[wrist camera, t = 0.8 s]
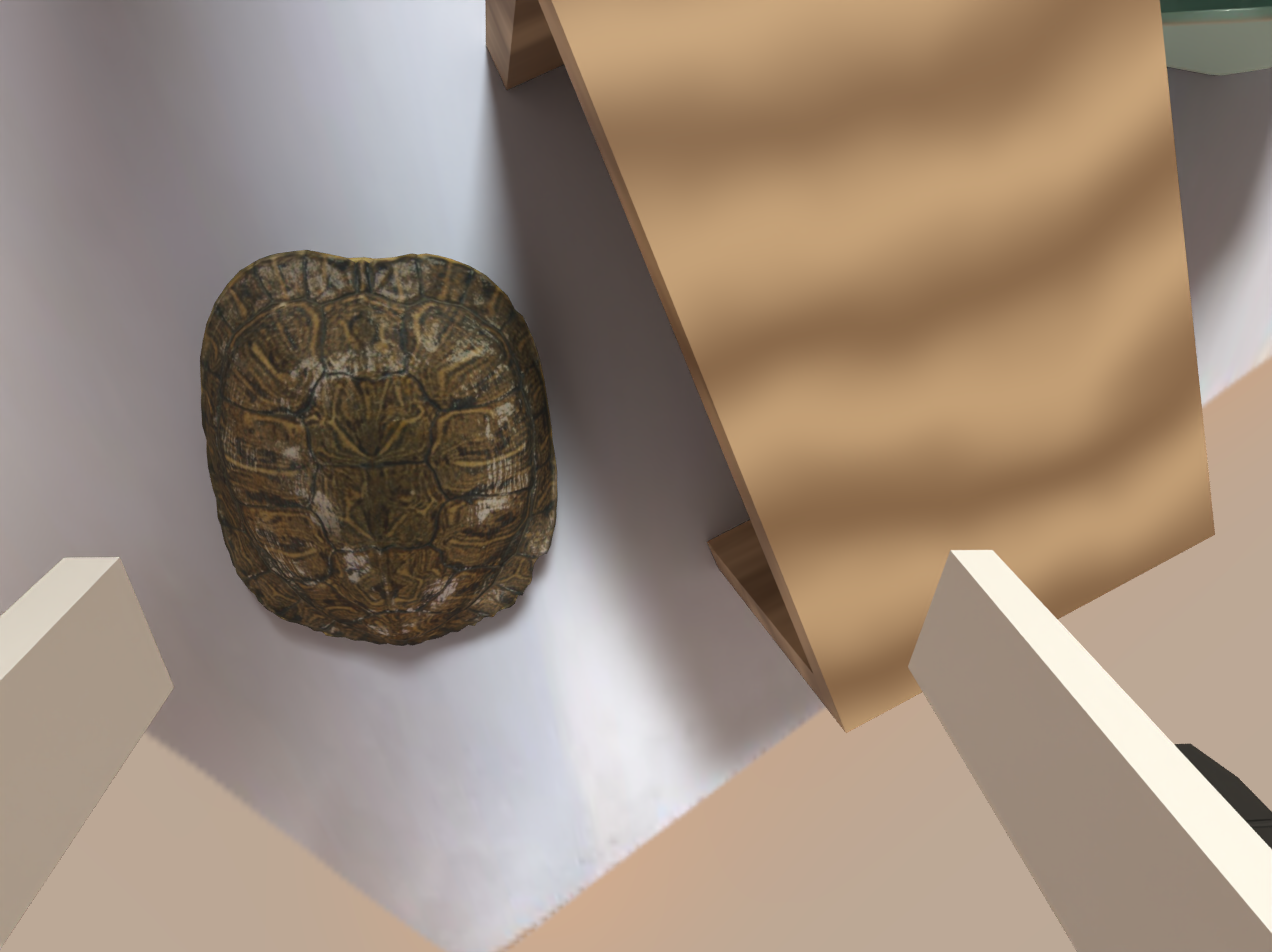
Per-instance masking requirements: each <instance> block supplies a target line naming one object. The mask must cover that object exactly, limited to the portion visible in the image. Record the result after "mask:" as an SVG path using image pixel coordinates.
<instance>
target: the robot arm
mask: <svg viewBox="0 0 1272 952" xmlns="http://www.w3.org/2000/svg"><path fill="white" fill-rule="evenodd" d="M908 668H909V670H910V671H911V673H912V675H913V676H914V678H915V680H916V682H917V683H918V685H919V687H920V688H921V690H922V692H923V693H924V695H925V697H926V698H927V700H928V702H929V703H930V705H931V706H932V708H933V710H934V712H935V714H936V715H937V717H938V719H939V720H940V722H941V724H942V725H943V727H944V729H945V730H946V732H947V733H948V735H949V737H950V739H951V740H952V742H953V744H954V745H955V747H956V749H957V751H958V752H959V754H960V755H961V757H962V759H963V760H964V762H965V764H966V766H967V767H968V769H969V771H970V772H971V774H972V775H973V777H974V779H975V781H976V783H977V784H978V786H979V788H980V789H981V791H982V793H983V794H984V796H985V798H986V799H987V801H988V803H989V804H990V806H991V807H992V809H993V811H994V813H995V815H996V816H997V818H998V819H999V821H1000V823H1001V825H1002V826H1003V828H1004V830H1005V831H1006V833H1007V835H1008V836H1009V838H1010V840H1011V841H1012V843H1013V845H1014V847H1015V848H1016V850H1017V852H1018V853H1019V855H1020V856H1021V858H1022V860H1023V861H1024V863H1025V865H1026V867H1027V868H1028V870H1029V872H1030V873H1031V875H1032V877H1033V879H1034V880H1035V882H1036V884H1037V885H1038V887H1039V889H1040V890H1041V892H1042V894H1043V895H1044V897H1045V899H1046V900H1047V902H1048V904H1049V905H1050V907H1051V909H1052V911H1053V912H1054V914H1055V916H1056V917H1057V919H1058V920H1059V922H1060V924H1061V925H1062V927H1063V929H1064V931H1065V932H1066V934H1067V936H1068V937H1069V939H1070V941H1071V942H1072V944H1073V946H1074V947H1075V949H1076V951H1077V952H1272V812H1271V811H1270V810H1269V809H1268V808H1267V807H1266V806H1265V805H1264V804H1263V803H1262V802H1261V801H1260V800H1259V799H1258V797H1257V796H1255V794H1254V793H1253V792H1252V791H1251V790H1250V789H1249V788H1248V787H1247V786H1246V785H1245V784H1244V783H1243V782H1242V781H1241V780H1240V779H1239V778H1238V777H1236V776H1235V775H1234V774H1232V773H1231V772H1229V771H1228V770H1227V769H1225V768H1224V767H1222V766H1221V765H1220V764H1218V763H1217V762H1215V761H1214V760H1213V759H1211V758H1210V757H1208V756H1207V755H1206V754H1204V753H1203V752H1201V751H1200V750H1198V749H1197V748H1196V747H1194V746H1193V745H1191V744H1173V743H1172V742H1171V741H1170V740H1169V739H1168V738H1167V737H1166V735H1165V734H1163V732H1162V731H1161V730H1160V729H1159V728H1158V727H1157V726H1156V725H1155V724H1154V723H1153V721H1152V720H1150V718H1149V717H1148V716H1147V715H1146V714H1145V713H1144V712H1143V711H1142V710H1141V709H1140V708H1139V707H1138V705H1137V704H1136V703H1135V702H1134V701H1133V700H1132V699H1131V698H1130V697H1129V696H1128V695H1127V694H1126V693H1125V692H1124V691H1123V689H1122V688H1121V687H1120V686H1119V685H1118V684H1117V683H1116V682H1115V681H1114V680H1113V679H1112V678H1111V676H1110V675H1109V674H1108V673H1107V672H1106V671H1105V670H1104V669H1103V668H1102V667H1101V666H1100V665H1099V664H1098V663H1097V661H1096V660H1095V659H1094V658H1093V657H1092V656H1091V655H1090V654H1089V653H1088V652H1087V651H1086V650H1085V649H1084V648H1083V647H1082V645H1081V644H1080V643H1079V642H1078V641H1077V640H1076V639H1075V638H1074V637H1073V636H1072V635H1071V634H1070V632H1069V631H1068V630H1067V629H1066V628H1065V627H1064V626H1063V625H1062V624H1061V623H1060V622H1059V621H1058V620H1057V619H1056V617H1055V616H1054V615H1053V614H1052V613H1051V612H1050V611H1049V610H1048V609H1047V608H1046V607H1045V606H1044V605H1043V604H1042V602H1041V601H1040V600H1039V599H1038V598H1037V597H1036V596H1035V595H1034V594H1033V593H1032V592H1031V591H1030V590H1029V588H1028V587H1027V586H1026V585H1025V584H1024V583H1023V582H1022V581H1021V580H1020V579H1019V578H1018V577H1017V576H1016V575H1015V573H1014V572H1013V571H1012V570H1011V569H1010V568H1009V567H1008V566H1007V565H1006V564H1005V563H1004V562H1003V561H1002V560H1001V558H1000V557H999V556H998V555H997V554H996V553H995V552H994V551H993V550H950V553H949V555H948V558H947V561H946V564H945V566H944V569H943V572H942V574H941V577H940V580H939V583H938V585H937V588H936V591H935V594H934V596H933V599H932V602H931V605H930V607H929V610H928V613H927V616H926V618H925V621H924V624H923V627H922V629H921V632H920V635H919V638H918V640H917V643H916V646H915V648H914V651H913V654H912V657H911V659H910V662H909V665H908ZM173 689H174V686H173V683H172V681H171V679H170V676H169V674H168V671H167V669H166V667H165V664H164V662H163V659H162V657H161V655H160V652H159V650H158V647H157V645H156V643H155V640H154V638H153V635H152V633H151V631H150V628H149V626H148V623H147V621H146V619H145V616H144V614H143V612H142V609H141V607H140V604H139V602H138V600H137V597H136V595H135V592H134V590H133V588H132V585H131V583H130V580H129V578H128V576H127V573H126V571H125V568H124V566H123V564H122V561H121V559H120V557H78V558H63V559H62V560H61V561H60V562H59V563H58V564H57V565H55V566H54V567H53V568H52V569H51V570H50V571H49V572H48V573H47V574H46V575H45V576H43V577H42V578H41V579H40V580H39V581H38V582H37V583H36V584H35V585H34V586H33V587H32V588H30V589H29V590H28V591H27V592H26V593H25V594H24V595H23V596H22V597H21V598H20V599H18V600H17V601H16V602H15V603H14V604H13V605H12V606H11V607H10V608H9V609H8V610H7V611H5V612H4V613H3V614H2V615H1V616H0V949H1V948H2V946H3V945H4V943H5V942H6V940H7V939H8V937H9V936H10V934H11V933H12V931H13V930H14V928H15V926H16V925H17V924H18V922H19V921H20V919H21V918H22V916H23V915H24V913H25V912H26V910H27V909H28V907H29V906H30V904H31V903H32V901H33V900H34V898H35V896H36V895H37V893H38V892H39V890H40V889H41V887H42V886H43V884H44V883H45V881H46V880H47V878H48V877H49V875H50V874H51V872H52V871H53V869H54V868H55V866H56V865H57V863H58V862H59V860H60V859H61V857H62V856H63V854H64V853H65V851H66V850H67V848H68V847H69V845H70V844H71V842H72V841H73V839H74V838H75V836H76V835H77V833H78V832H79V830H80V829H81V827H82V826H83V824H84V823H85V821H86V819H87V818H88V817H89V815H90V814H91V812H92V811H93V809H94V808H95V806H96V805H97V803H98V801H99V800H100V799H101V797H102V795H103V794H104V792H105V791H106V789H107V788H108V786H109V785H110V783H111V782H112V780H113V779H114V777H115V776H116V774H117V773H118V771H119V770H120V768H121V767H122V765H123V764H124V762H125V761H126V759H127V758H128V756H129V755H130V753H131V751H132V750H133V749H134V747H135V746H136V744H137V743H138V741H139V740H140V738H141V737H142V735H143V734H144V732H145V731H146V729H147V728H148V726H149V725H150V723H151V722H152V720H153V719H154V717H155V716H156V714H157V713H158V711H159V710H160V708H161V707H162V705H163V704H164V702H165V701H166V699H167V698H168V696H169V695H170V693H171V692H172V690H173Z"/></svg>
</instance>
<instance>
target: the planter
mask: <svg viewBox="0 0 1272 952" xmlns="http://www.w3.org/2000/svg"><path fill="white" fill-rule="evenodd" d="M1160 8H1161V17H1162V27H1163V37H1164V46H1165V56H1166V66H1167V67H1171V68H1176V69H1182V70H1187V71H1193V72H1198V73H1204V74H1209V75H1229V74H1236V73H1243V72H1249V71H1256V70H1262V69H1268V68H1272V0H1160Z"/></svg>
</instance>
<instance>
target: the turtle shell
mask: <svg viewBox="0 0 1272 952" xmlns="http://www.w3.org/2000/svg"><path fill="white" fill-rule="evenodd" d="M200 371H201V410H202V426H203V429H204V433H205V436H206V440H207V460H208V469H209V473H210V478H211V482H212V487H213V490H214V493H215V496H216V501H217V513H218V519H219V522H220V524H221V528H222V533H223V537H224V541H225V545H226V547H227V549H228V551H229V553H230V556H231V560H232V563H233V566H234V567H235V568H236V572H237V574H238V576H239V577H240V578H241V579H242V581H243V582H244V583H245V585H246V586H247V587H248V589H249V590H250V591H251V592H252V593H254V594H255V595H256V597H257V599H258V601H259V602H260V603H261V604H262V605H263V606H264V607H265V608H266V609H267V610H269V611H271V612H273V613H274V614H276V615H277V616H279V617H280V618H282V619H284V620H286V621H289V622H294V623H298V624H301V625H304V626H307V627H309V628H311V629H312V630H314V631H321V632H323V633H324V634H325V635H327V636H333V637H346V638H349V639H352V640H361V641H368V642H372V643H376V644H387V643H389V644H393V645H401V646H404V645H407V644H409V645H415V644H419V643H422V642H424V641H426V640H431V639H436V638H440V637H442V636H444V635H446V634H448V633H450V632H458V631H460V630H461V629H463V628H465V627H466V626H468V625H472V626H475V625H476V623H477V622H479V621H481V620H482V619H483V617H493V616H494V615H495V614H496V613H497V612H498V611H500V610H502V609H505V608H509V607H511V606H512V605H514V604H515V602H516V599H517V597H518V595H523V592H524V590H525V589H526V587H527V586H528V585H529V584H530V583H531V580H532V571H533V566H534V563H535V562H536V560H537V559H538V557H539V556H540V555H543V554H546V553H547V552H548V550H549V548H550V545H551V541H552V536H553V531H554V527H555V522H556V507H557V467H556V459H555V453H554V447H553V439H552V427H551V420H550V413H549V407H548V400H547V394H546V388H545V381H544V376H543V372H542V367H541V363H540V359H539V355H538V352H537V349H536V346H535V343H534V340H533V337H532V335H531V333H530V331H529V328H528V326H527V324H526V322H525V320H524V318H523V316H522V315H521V314H520V313H518V312H517V311H516V310H515V309H514V307H513V305H512V303H511V301H510V299H509V298H508V296H507V295H506V294H505V293H504V292H503V291H502V290H501V289H500V288H499V287H498V286H497V285H496V284H495V283H494V282H492V281H491V280H490V279H489V278H488V277H487V276H486V275H484V274H483V273H481V272H479V271H478V270H476V269H474V268H472V267H471V266H468V265H466V264H463V263H460V262H458V261H455V260H452V259H449V258H445V257H441V256H437V255H431V254H420V255H417V254H407V255H403V256H398V257H392V258H380V259H372V258H365V257H363V258H344V257H340V256H335V255H330V254H325V253H320V252H315V251H310V250H302V251H292V252H285V253H278V254H274V255H270V256H267V257H264V258H261V259H259V260H257V261H255V262H254V263H252V264H250V265H249V266H247V267H245V268H244V269H242V270H240V271H239V272H238V273H237V274H236V275H235V276H234V278H233V279H232V280H231V281H230V282H229V283H228V284H227V286H226V287H225V289H224V290H223V292H222V293H221V294H220V296H219V297H218V299H217V300H216V302H215V304H214V306H213V309H212V311H211V314H210V317H209V319H208V321H207V324H206V329H205V333H204V338H203V343H202V350H201V356H200Z"/></svg>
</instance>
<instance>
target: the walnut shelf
mask: <svg viewBox="0 0 1272 952" xmlns="http://www.w3.org/2000/svg"><path fill="white" fill-rule="evenodd" d="M486 45H487V48H488V50H489V52H490V54H491V57H492V59H493V61H494V63H495V66H496V68H497V70H498V72H499V75H500V77H501V79H502V81H503V84H504V86H505V88H506V90H508V89H511V88H513V87H515V86H517V85H519V84H522V83H524V82H526V81H528V80H530V79H533V78H535V77H537V76H539V75H542V74H544V73H546V72H548V71H550V70H553V69H555V68H557V67H559V66H561V65H565V67H566V70H567V72H568V75H569V77H570V80H571V82H572V84H573V87H574V89H575V92H576V94H577V97H578V99H579V102H580V104H581V106H582V109H583V111H584V114H585V116H586V119H587V121H588V124H589V126H590V129H591V131H592V133H593V136H594V138H595V141H596V143H597V146H598V148H599V151H600V153H601V155H602V158H603V160H604V163H605V165H606V168H607V170H608V173H609V175H610V177H611V180H612V182H613V185H614V187H615V190H616V192H617V195H618V197H619V200H620V202H621V204H622V207H623V209H624V212H625V214H626V217H627V219H628V222H629V224H630V226H631V229H632V231H633V234H634V236H635V239H636V241H637V244H638V246H639V248H640V251H641V253H642V256H643V258H644V261H645V263H646V266H647V268H648V270H649V273H650V275H651V278H652V280H653V283H654V285H655V288H656V290H657V293H658V295H659V297H660V300H661V302H662V305H663V307H664V310H665V312H666V315H667V317H668V319H669V322H670V324H671V327H672V329H673V332H674V334H675V337H676V339H677V341H678V344H679V346H680V349H681V351H682V354H683V356H684V359H685V361H686V364H687V366H688V368H689V371H690V373H691V376H692V378H693V381H694V383H695V386H696V388H697V390H698V393H699V395H700V398H701V400H702V403H703V405H704V408H705V410H706V412H707V415H708V417H709V420H710V422H711V425H712V427H713V430H714V432H715V434H716V437H717V439H718V442H719V444H720V447H721V449H722V452H723V454H724V457H725V459H726V461H727V464H728V466H729V469H730V471H731V474H732V476H733V479H734V481H735V483H736V486H737V488H738V491H739V493H740V496H741V498H742V501H743V503H744V505H745V508H746V510H747V513H748V515H749V518H750V520H749V521H747V522H745V523H743V524H741V525H739V526H737V527H735V528H733V529H731V530H729V531H727V532H725V533H723V534H721V535H719V536H717V537H715V538H713V539H711V540H709V541H707V543H708V546H709V548H710V550H711V552H712V555H713V557H714V559H715V561H716V564H717V566H718V568H719V569H720V571H721V572H722V573H723V575H724V576H725V577H726V578H727V580H728V581H729V582H730V584H731V585H732V586H733V588H734V589H735V590H736V591H737V593H738V594H739V595H740V597H741V598H742V599H743V600H744V602H745V603H746V604H747V606H748V607H749V608H750V610H751V611H752V612H753V613H754V615H755V616H756V617H757V619H758V620H759V621H760V622H761V624H762V625H763V626H764V628H765V629H766V630H767V631H768V633H769V634H770V635H771V637H772V638H773V639H774V641H775V642H776V643H777V644H778V646H779V647H780V648H781V650H782V651H783V652H784V653H785V655H786V656H787V657H788V659H789V660H790V661H791V663H792V664H793V665H794V666H795V668H796V669H797V670H798V672H799V673H800V674H801V675H802V677H803V678H804V679H805V681H806V682H807V683H808V684H809V686H810V687H811V688H812V690H813V691H814V692H815V694H816V695H817V696H818V697H819V699H820V700H821V701H822V703H823V704H824V705H825V706H826V708H827V709H828V710H829V712H830V713H831V714H832V715H833V717H834V718H835V719H836V721H837V722H838V723H839V724H840V726H841V727H842V728H843V730H844V731H845V732H846V733H847V732H849V731H851V730H853V729H855V728H856V727H858V726H860V725H862V724H864V723H866V722H868V721H870V720H871V719H873V718H875V717H877V716H879V715H881V714H883V713H884V712H886V711H888V710H890V709H892V708H894V707H895V706H897V705H899V704H901V703H903V702H905V701H906V700H909V699H910V698H912V697H914V696H916V695H918V694H920V693H922V690H921V688H920V687H919V685H918V683H917V682H916V680H915V678H914V676H913V675H912V673H911V671H910V670H909V668H908V665H909V662H910V659H911V657H912V654H913V651H914V648H915V646H916V643H917V640H918V638H919V635H920V632H921V629H922V627H923V624H924V621H925V618H926V616H927V613H928V610H929V607H930V605H931V602H932V599H933V596H934V594H935V591H936V588H937V585H938V583H939V580H940V577H941V574H942V572H943V569H944V566H945V564H946V561H947V558H948V555H949V553H950V550H993V551H994V552H995V553H996V554H997V555H998V556H999V557H1000V558H1001V560H1002V561H1003V562H1004V563H1005V564H1006V565H1007V566H1008V567H1009V568H1010V569H1011V570H1012V571H1013V572H1014V573H1015V575H1016V576H1017V577H1018V578H1019V579H1020V580H1021V581H1022V582H1023V583H1024V584H1025V585H1026V586H1027V587H1028V588H1029V590H1030V591H1031V592H1032V593H1033V594H1034V595H1035V596H1036V597H1037V598H1038V599H1039V600H1040V601H1041V602H1042V604H1043V605H1044V606H1045V607H1046V608H1047V609H1048V610H1049V611H1050V612H1051V613H1052V614H1053V615H1054V616H1055V617H1056V619H1059V618H1061V617H1062V616H1065V615H1066V614H1068V613H1070V612H1072V611H1074V610H1076V609H1077V608H1079V607H1081V606H1083V605H1085V604H1087V603H1089V602H1091V601H1092V600H1094V599H1096V598H1098V597H1100V596H1102V595H1104V594H1105V593H1107V592H1109V591H1111V590H1113V589H1115V588H1116V587H1118V586H1120V585H1122V584H1124V583H1126V582H1128V581H1129V580H1131V579H1133V578H1135V577H1137V576H1139V575H1141V574H1143V573H1144V572H1146V571H1148V570H1150V569H1152V568H1153V567H1156V566H1157V565H1159V564H1161V563H1163V562H1165V561H1167V560H1169V559H1170V558H1172V557H1174V556H1176V555H1178V554H1180V553H1181V552H1183V551H1185V550H1187V549H1189V548H1191V547H1193V546H1195V545H1196V544H1198V543H1200V542H1202V541H1204V540H1206V539H1208V538H1209V537H1211V536H1213V535H1215V531H1214V521H1213V512H1212V502H1211V492H1210V482H1209V473H1208V463H1207V453H1206V444H1205V434H1204V425H1203V415H1202V405H1201V395H1200V385H1199V376H1198V366H1197V356H1196V347H1195V337H1194V327H1193V318H1192V308H1191V298H1190V289H1189V279H1188V269H1187V259H1186V250H1185V240H1184V230H1183V221H1182V211H1181V201H1180V192H1179V182H1178V172H1177V163H1176V153H1175V143H1174V134H1173V124H1172V114H1171V105H1170V95H1169V85H1168V75H1167V66H1166V56H1165V46H1164V37H1163V27H1162V17H1161V8H1160V0H486Z"/></svg>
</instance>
